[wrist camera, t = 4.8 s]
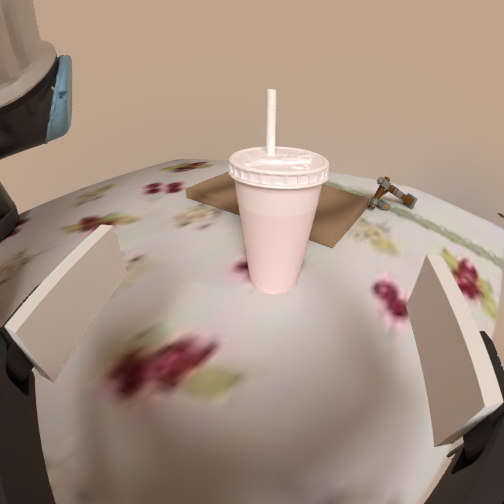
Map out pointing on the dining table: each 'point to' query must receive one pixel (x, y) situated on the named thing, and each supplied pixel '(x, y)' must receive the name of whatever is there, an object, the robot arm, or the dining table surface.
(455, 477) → the robot arm
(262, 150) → the smoothie
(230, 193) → the walnut board
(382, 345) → the dining table surface
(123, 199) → the dining table surface
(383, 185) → the wooden post with brackets
